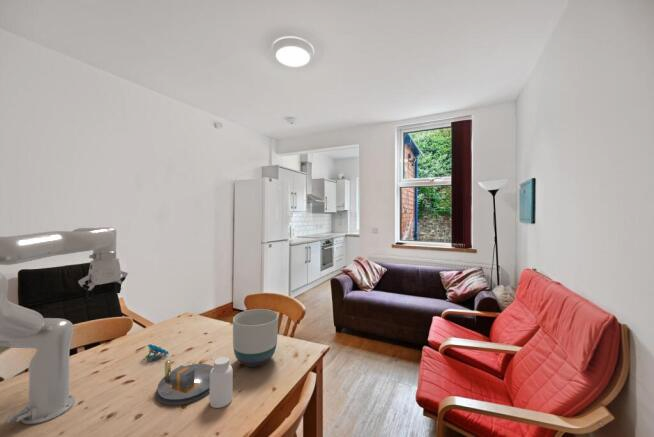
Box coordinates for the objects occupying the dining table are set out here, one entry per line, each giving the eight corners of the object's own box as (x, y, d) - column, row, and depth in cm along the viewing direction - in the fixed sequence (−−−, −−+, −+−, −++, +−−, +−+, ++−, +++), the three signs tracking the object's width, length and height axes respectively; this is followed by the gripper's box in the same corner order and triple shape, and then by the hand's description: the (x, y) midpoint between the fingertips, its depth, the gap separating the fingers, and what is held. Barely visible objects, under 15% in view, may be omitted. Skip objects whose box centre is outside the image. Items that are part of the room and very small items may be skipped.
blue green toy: (173, 352, 126) (157, 344, 120) (165, 365, 122) (148, 357, 116) (160, 350, 131) (144, 341, 125) (152, 362, 127) (135, 354, 121)
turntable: (224, 385, 103) (224, 362, 103) (162, 409, 89) (162, 383, 89) (208, 361, 119) (208, 342, 119) (153, 380, 105) (154, 357, 105)
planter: (285, 356, 127) (286, 313, 127) (258, 380, 109) (259, 329, 108) (252, 347, 136) (253, 306, 135) (222, 367, 117) (223, 320, 117)
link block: (171, 386, 99) (172, 370, 99) (181, 380, 103) (181, 365, 103) (184, 391, 96) (185, 375, 96) (194, 385, 100) (194, 369, 100)
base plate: (183, 413, 90) (183, 410, 90) (142, 395, 98) (142, 392, 98) (230, 377, 110) (230, 375, 110) (192, 365, 119) (192, 363, 119)
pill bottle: (225, 390, 102) (226, 352, 102) (236, 400, 97) (237, 360, 97) (205, 401, 96) (205, 361, 96) (216, 412, 91) (216, 369, 90)
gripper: (83, 259, 102) (83, 303, 102) (132, 254, 118) (131, 291, 118) (74, 258, 105) (73, 300, 106) (122, 253, 121) (122, 289, 121)
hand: (104, 295), depth 112 cm, fingers open, 9 cm apart
